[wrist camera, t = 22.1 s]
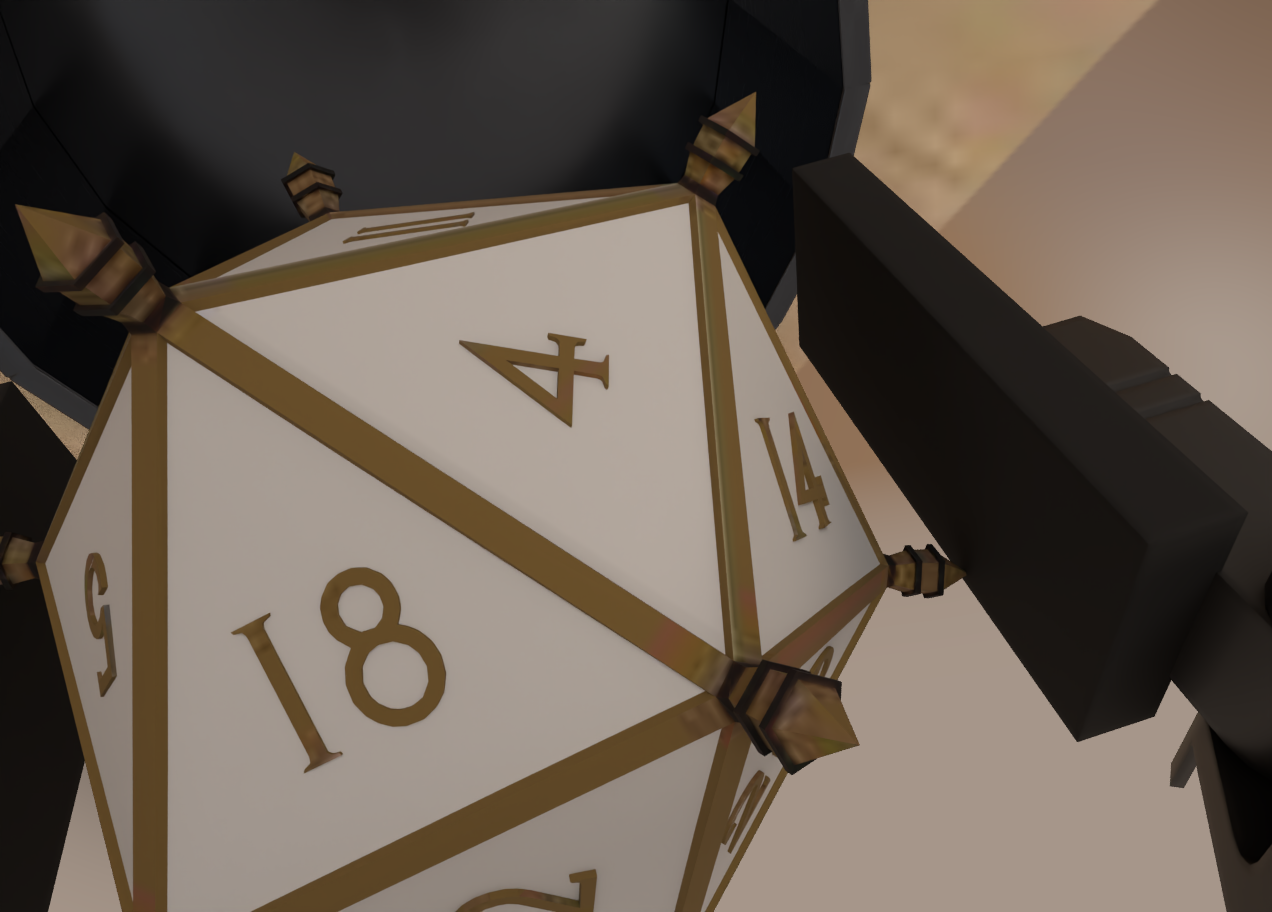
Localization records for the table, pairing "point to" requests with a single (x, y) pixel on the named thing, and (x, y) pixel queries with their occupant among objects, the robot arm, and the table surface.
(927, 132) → the table surface
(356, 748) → the game die
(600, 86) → the pan
